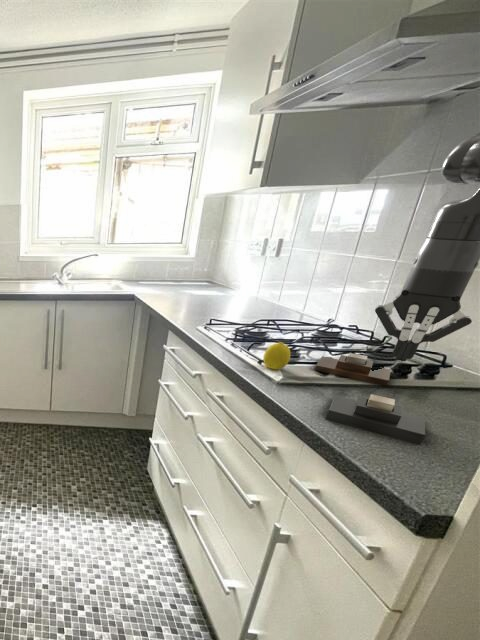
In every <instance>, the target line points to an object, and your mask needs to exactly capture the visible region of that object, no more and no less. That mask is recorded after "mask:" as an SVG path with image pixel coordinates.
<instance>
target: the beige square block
mask: <svg viewBox="0 0 480 640" xmlns="http://www.w3.org/2000/svg"><path fill="white" fill-rule="evenodd" d="M347 356H348V357H347V359H346V361H347V362H352V363H358V364H363V365H364V364H365V362H366V360H368V355H363V354H358V353H352V352H349V353H348V355H347Z"/></svg>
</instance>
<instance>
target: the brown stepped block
mask: <svg viewBox="0 0 480 640" xmlns="http://www.w3.org/2000/svg"><path fill="white" fill-rule="evenodd" d="M347 357H348V355H344V354H340V356H339V358H333V357H328V356H323V355H322V356H321V357H320V359H319V360H318V362H317V363H316V365H315V367H314V371H316V372H321V373H325V374H329V375H334V376H339V377H342V378H343V377H344V378H349V379H353V380H357V381H362V382H367V383H372V384H377V385H381V386H388V383H389V382H390V378H391V377H390V376H391V371H392V369H389V368H384V367H381V368H382V369H378V370H374V371H372V370H371V368H372V366H374V365H373V364H374V360H370V359H367V360H366V362H365V364H364V365H363V364H358V363H352V362H347V361H346V359H347Z"/></svg>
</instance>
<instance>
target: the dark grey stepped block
mask: <svg viewBox="0 0 480 640" xmlns="http://www.w3.org/2000/svg"><path fill="white" fill-rule="evenodd" d="M369 398H370V397H367V396H363V395H359V397H358V399H351V398H347V397H343V396H340V395H334V397H333V399H332V402H331V404H330V406H329V409H328V411H327V413H326V416H325V419H324V420H327V421H330V422H334V423H337V424H342V425H344V426H348V427H352V428H356V429H359V430H363V431H367V432H371V433H374V434H378V435H380V436H385V437H388V438H393V439H396V440H400V441H403V442H406V443H411V444H415V445H419V446H421V445H422V442H423V441H424V438H425V437H426V416H423V415H418V414H414V413H410V412H406V411H403V405H401V404H397V403H395V404H394V407H393V409H392V412H390V411H386V410H382V409H378V408H374V407H370V406H367V403H368V400H369Z"/></svg>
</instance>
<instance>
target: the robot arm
mask: <svg viewBox="0 0 480 640" xmlns="http://www.w3.org/2000/svg"><path fill="white" fill-rule="evenodd" d="M441 176H442V178H443V179H444V180H445V181H446V182H447V183H450V184H452V185H458V186H459V185H460V186H461V185H462V186H463V185H465V186H467V185H480V131H479V132H476V133H474V134H472V135H471V136H469V137H467V138H465V139H464V140H462V141H461V142H460V143H458V144H457V145H456V146H455V147H454V148H453V149H452V150H451V151H450V152H449V153H448V154H447V156H446V157H445V159H444V161H443V162H442V165H441ZM479 262H480V187H479V188H478V189H477V190H476V191H475V192H474V193H473V194H472V195H471V196H470V197H468V198H464V199H459V200H453V201H449V202H446V203H445V204H443V205H441V206H440V208H438V210H437V212H436V214H435V216H434V219H433V221H432V223H431V226H430V228H429V229H428V233H427V235H426V238H425V239H424V241H423V243H422V244H421V246H420V248H419V249H418V251H417V254H416V256H415V258H413V262H412V265H411V268H410V270H409V272H408V274H407V277H406V279H405V280H404V284H403V286H402V288H401V290H400V292H399V294H397V295H396V296H395V297H394V298H393V300H392V301H391V302H388V303H385V304H379V305H377V306H376V307H375V309H374V312H375V314H376V316H377V318H378V320H379V321H380V323H381V325H382V326H383V328H384V329H385V331H386V334H387V335H388V336H390V337H394V338H396V339H397V342H396V343H395V346H394V347H393V350H392V357H394V360H395V361H400V362H406V361H407V360H412V359H413V358H414V356H415V354H416V352H417V350H418V348H419V345H420V344H422V343H433V342H436V341H438V340H440V339H442V338H444V337H446V336H448V335H451V334H452V333H455V332H457V331H458V330H461V329H463V328H465V327H467V326H470V325H471V324H472V322H473V320H472V318H471V316H469V315H466V314H465V313H464V312H463V311H462V310H461V308H462V305H461V298H462V296H463V294H464V292H465V290H466V289H467V286H468V285H469V283H470V280H471V278H472V277H473V274H474V272H475V270H476V269H477V268H478V266H479ZM393 309H395V310H396V312H397V314H398V316H399V318H400V320H401V321H403V323H402V326H401V329H399V328H397V326H396V324H395V322H394V321H393V319H392V317H391V315H392V314H393V311H394V310H393ZM451 316H452V317H451ZM449 317H450V318H449ZM447 318H449V323H447V324H445V325H442V326H441V327H439V328H437V329H435V330H434V331H431V332H429V333H427V332H428V331H429V328H430V327H431V326H432V325H436V324H438V323H439V322H442V321H443V320H445V319H447ZM417 323H418V325H417V326H416V329H415V330H414V332H413V333H412V329H413V326H414V324H417ZM411 333H412V336H411V338H410V335H411Z"/></svg>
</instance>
